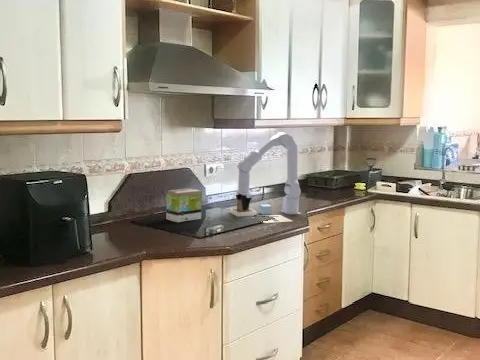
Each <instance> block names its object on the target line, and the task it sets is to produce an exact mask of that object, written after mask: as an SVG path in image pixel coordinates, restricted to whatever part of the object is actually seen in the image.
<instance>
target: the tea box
mask: <svg viewBox="0 0 480 360" xmlns="http://www.w3.org/2000/svg"><path fill="white" fill-rule="evenodd" d="M202 203H203V190H199V189H195V188H190V187H189V188H181V189H171V190H167V193H166V211H165V212H166V215H165V217H166V220H168V221H171V222H175V223H182V222H188V221H195V220H196V221H197V220H201V219H202Z"/></svg>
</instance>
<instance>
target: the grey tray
mask: <svg viewBox="0 0 480 360" xmlns="http://www.w3.org/2000/svg"><path fill="white" fill-rule="evenodd" d="M229 214H232V215H234V216H236V217H238V218H239V217H252V216H254V215H257V216H258V212H257V211H256V210H254V209H252V208H250V207H249V212H238V211H237V207H234V208H229Z"/></svg>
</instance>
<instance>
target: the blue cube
mask: <svg viewBox="0 0 480 360" xmlns="http://www.w3.org/2000/svg"><path fill="white" fill-rule="evenodd" d="M258 214H260V215H261V216H268V215H273V206H272V205H270V204H268V203H267V204H266V203H265V204H259V210H258Z"/></svg>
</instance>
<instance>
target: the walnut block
mask: <svg viewBox="0 0 480 360" xmlns="http://www.w3.org/2000/svg"><path fill="white" fill-rule="evenodd" d="M236 208H237V211H238V212H249V208H250V205H249V206H248V209H247V210H243V205H242V200H241V199H238V200H237V199H236Z"/></svg>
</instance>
